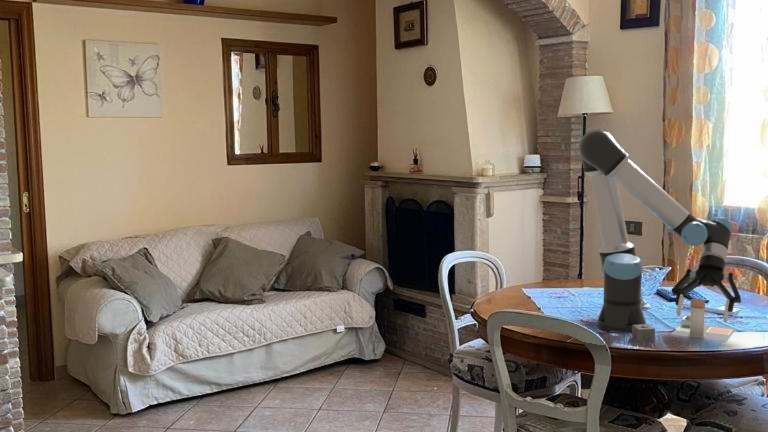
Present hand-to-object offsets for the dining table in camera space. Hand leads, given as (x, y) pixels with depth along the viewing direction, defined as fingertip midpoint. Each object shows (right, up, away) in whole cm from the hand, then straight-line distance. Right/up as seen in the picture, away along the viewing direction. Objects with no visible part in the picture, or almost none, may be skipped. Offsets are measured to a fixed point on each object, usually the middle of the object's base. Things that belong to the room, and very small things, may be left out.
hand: (701, 317), depth 234 cm
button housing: (+1, -4, +11) cm, 12 cm away
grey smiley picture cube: (-19, -8, -3) cm, 21 cm away
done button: (+1, -2, +11) cm, 11 cm away
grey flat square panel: (+3, -6, +5) cm, 8 cm away
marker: (-1, -6, +1) cm, 6 cm away
